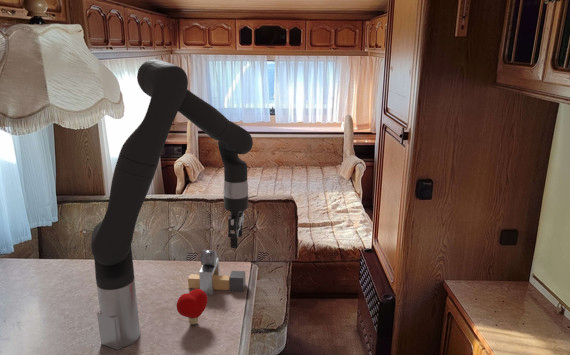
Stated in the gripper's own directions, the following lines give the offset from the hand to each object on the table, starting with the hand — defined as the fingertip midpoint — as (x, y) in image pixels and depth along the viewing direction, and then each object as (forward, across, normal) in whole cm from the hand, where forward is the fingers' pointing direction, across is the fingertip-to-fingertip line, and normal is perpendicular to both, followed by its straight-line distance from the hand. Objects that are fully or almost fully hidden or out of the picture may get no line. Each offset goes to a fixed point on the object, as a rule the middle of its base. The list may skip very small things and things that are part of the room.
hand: (236, 241), depth 136 cm
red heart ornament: (+17, -20, +9) cm, 28 cm away
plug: (+17, 0, +7) cm, 18 cm away
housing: (+17, 0, +9) cm, 19 cm away
